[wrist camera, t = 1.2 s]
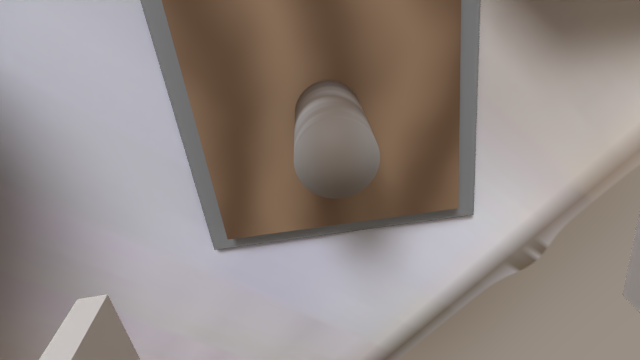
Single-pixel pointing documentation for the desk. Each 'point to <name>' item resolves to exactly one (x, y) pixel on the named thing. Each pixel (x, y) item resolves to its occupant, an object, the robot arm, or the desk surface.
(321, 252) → the desk surface
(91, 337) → the robot arm
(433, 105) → the lid
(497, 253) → the desk surface
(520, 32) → the desk surface
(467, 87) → the mat
